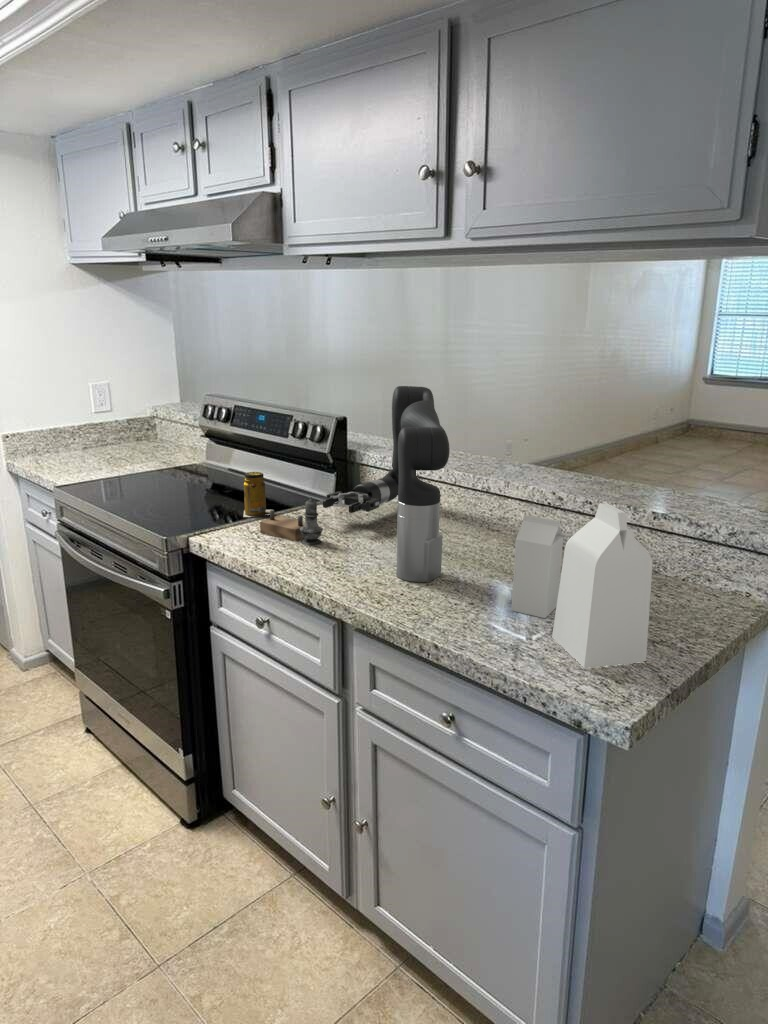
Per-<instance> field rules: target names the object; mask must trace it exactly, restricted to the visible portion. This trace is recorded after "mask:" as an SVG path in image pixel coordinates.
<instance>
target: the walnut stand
mask: <svg viewBox="0 0 768 1024" xmlns="http://www.w3.org/2000/svg"><path fill="white" fill-rule="evenodd" d="M269 510H270V516H269V518H267V519H263V520H261V521H259V526H260V527H259V528H260V529H259V532H260V534H264V535H268V536H273V537H278V538H282V539H287V540H289V541H295V542H296V541H299V540H301V539H302V540H303V538H304V537H303V536H302V534H301V531H300V528H301V527H303V526H305V520H304V518H303V515H298V516H297V519H295V518H290V517H285V516H280V515H277V516H275V510H274V509H269ZM303 520H304V521H303ZM304 539H305V538H304Z"/></svg>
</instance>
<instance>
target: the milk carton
mask: <svg viewBox="0 0 768 1024" xmlns="http://www.w3.org/2000/svg"><path fill="white" fill-rule="evenodd" d="M563 545H564V534H563V532H562V530H561V527H560V520H557V519H551V518H544V517H539V516H534V515H529V514H528V515H527V514H524V515H523V521H522V524H521V525H520V527H519V530H518V532H517V535H516V537H515V548H514V549H515V550H514V562H513V563H514V565H513V579H512V582H513V583H512V592H511V593H512V594H511V606H510V608H511V609H510V610H511V611H512V612H516V613H520V614H521V613H522V614H525V615H529V616H533V617H538V618H541V619H546V618H547V617H548V616H549V615H550V614H551V613H552V612H553V611H554V610H556V606H557V599H558V592H559V585H560V578H561V571H562V560H563V559H562V558H563V548H564V547H563Z"/></svg>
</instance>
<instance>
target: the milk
mask: <svg viewBox="0 0 768 1024" xmlns="http://www.w3.org/2000/svg"><path fill="white" fill-rule="evenodd" d="M635 537H636V534H635V533H634V532H633V531H632V530H631V528H629V527H628V521H627V516H626V512H625V511H623V510H621V509H619V508H617V507H615V506H613V505H611V504H609V503H607V502H605V503H599V504H598V506H597V510H596V513H595V516H594V517H593V518H592V519H590V521H589V522H587V523H586V524H585V525H584V526H582V527H581V528H580V529H579V530H578V531H577V532H575V533H574V534H573V535H572V536H571V537H570V538H569V539H568V540H567V542H566V544H565V546H564V552H563V557H562V558H563V559H562V563H561V571H560V582H559V592H558V599H557V606H556V608H555V615H554V621H553V629H552V634H551V639H552V638H553V639H554V640H555V641H556V642H557V643H558V644H559V645H561V646H562V647H563V648H564V649H565V651H567V652H568V653H569V654H570V655H571V656H572V657H573V658H575V659H576V661H578V662H579V663H580V664H581V665H582V666H583V667H584V668H588V667H597V666H606V665H618V664H628V663H636V662H643V661H646V662H647V654H648V653H647V651H648V637H649V636H648V635H649V621H650V609H651V606H650V605H651V590H652V578H653V575H652V574H653V559H652V556H651V555H650V552H649V551H648V550H647V549H646V548H645V547H644V546H643V545H642V544H641V543H640V542H639V540H637V539H636V538H635ZM553 639H552V640H553ZM554 640H553V641H554ZM555 641H554V642H555ZM556 642H555V643H556ZM557 643H556V644H557ZM558 644H557V645H558ZM559 645H558V646H559ZM565 651H564V652H565Z"/></svg>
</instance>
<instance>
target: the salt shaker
mask: <svg viewBox="0 0 768 1024" xmlns="http://www.w3.org/2000/svg"><path fill="white" fill-rule="evenodd" d="M304 505H305V508H304V509H305V513H303V515H304V522H305V526H303V527H301V528H300V531H301V534H302V536H303V537H304V539H302V540H301V541H300V543H301V545H304V546H318V545H321V544H322V543H323V542H322V540H321V539H320V537H321V535H322V532H323V530H324V528H323V527H322V526H320V525H319V523H318V516H319V513H318V505H317V501H316V500H313V497H312V496H310V497H309V499H308V500H306V501H305V504H304Z"/></svg>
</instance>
